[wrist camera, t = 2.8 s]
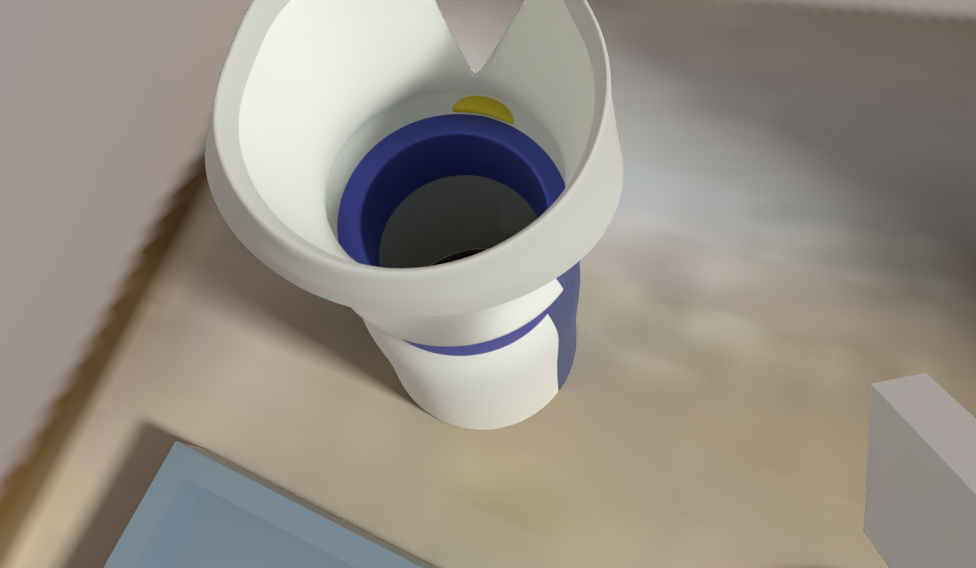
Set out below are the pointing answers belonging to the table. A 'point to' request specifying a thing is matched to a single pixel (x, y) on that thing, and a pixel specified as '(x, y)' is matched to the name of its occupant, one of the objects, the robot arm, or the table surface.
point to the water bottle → (425, 184)
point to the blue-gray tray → (239, 524)
